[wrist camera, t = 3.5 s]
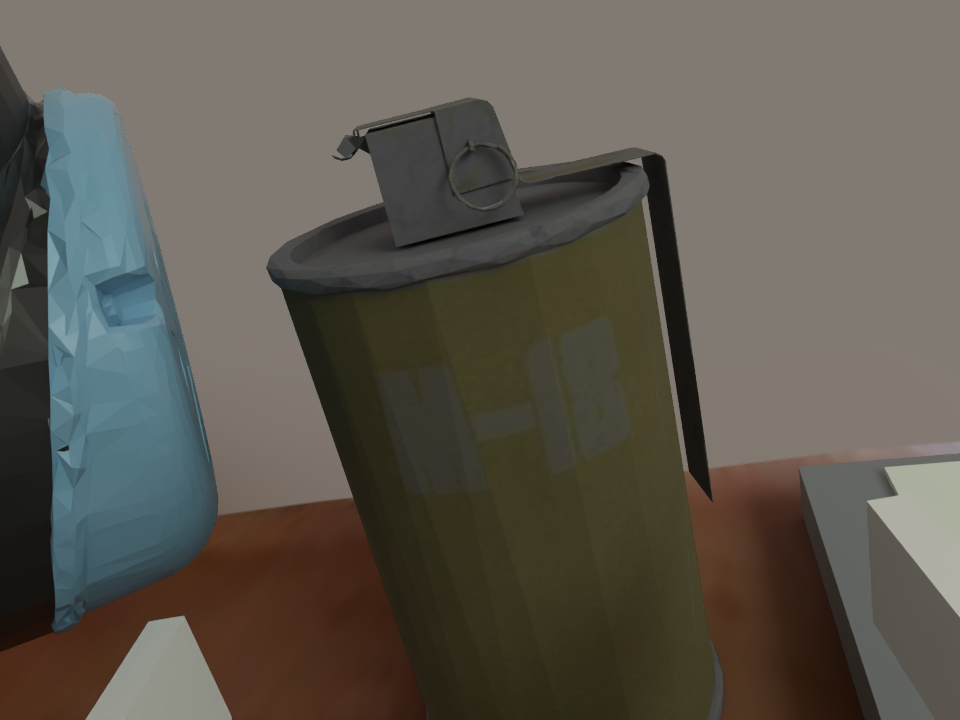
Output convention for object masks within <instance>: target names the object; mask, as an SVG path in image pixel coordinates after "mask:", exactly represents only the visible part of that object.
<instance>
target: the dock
mask: <svg viewBox="0 0 960 720" xmlns="http://www.w3.org/2000/svg"><path fill="white" fill-rule="evenodd" d="M799 476H800V487H801V498H802V509H803V518H804V521H805V525H806V528H807V531H808V535H809V538H810V541H811V544H812V548H813V551H814V554H815V558H816V561H817V564H818V568H819V571H820V574H821V578H822V581H823V584H824V587H825V591H826V594H827V597H828V601H829V604H830V607H831V611H832V614H833V617H834V620H835V624H836V627H837V630H838V634H839V637H840V640H841V644H842V647H843V650H844V654H845V657H846V660H847V663H848V667H849V670H850V673H851V677H852V680H853V683H854V687H855V690H856V693H857V696H858V700H859V703H860V706H861V710H862V713H863V716H864V720H935V718H934V717H933V715H932V714H931V712H930V710H929V709H928V707H927V706H926V704H925V703H924V701H923V699H922V698H921V696H920V695H919V693H918V692H917V690H916V688H915V687H914V685H913V684H912V682H911V681H910V679H909V677H908V676H907V674H906V673H905V671H904V670H903V668H902V666H901V665H900V663H899V662H898V660H897V659H896V657H895V655H894V654H893V652H892V651H891V649H890V648H889V646H888V645H887V643H886V641H885V640H884V638H883V637H882V635H881V634H880V632H879V630H878V629H877V627H876V626H875V624H874V623H873V611H872V592H871V573H870V554H869V535H868V516H867V501H868V500H874V499H880V498H886V497H892V496H898V495H904V494H910V493H912V494H913V495H914V496H915V497H916V499H917V500H918V501H919V502H920V503H921V504H922V505H923V506H924V507H925V508H926V509H927V511H928V512H929V513H930V514H931V515H932V516H933V517H934V518H935V519H936V520H937V522H938V523H939V524H940V525H941V526H942V527H943V528H944V529H945V530H946V531H947V532H948V534H949V535H950V536H951V537H952V538H953V539H954V540H955V541H956V542H957V543H958V544H959V546H960V454H948V455H936V456H925V457H913V458H901V459H889V460H877V461H865V462H854V463H842V464H830V465H818V466H806V467H799Z"/></svg>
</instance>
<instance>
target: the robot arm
mask: <svg viewBox="0 0 960 720" xmlns="http://www.w3.org/2000/svg"><path fill="white" fill-rule="evenodd" d="M43 97H44V100H42V101H41V102H39V103H35V102H34V101H33V100H32V99H31V98H30V97H29V96H28V95H27V94H26V92H25V91H24V90H23V89H22V87H21V85H20V83H19V81H18V80H17V78H16V76H15V74H14V72H13V70H12V68H11V66H10V65H9V62H8V60H7V59H6V57H5V55H4V53H3V51H2V49H1V47H0V652H1V651H4V650H7V649H9V648H12V647H15V646H17V645H20V644H23V643H25V642H28V641H31V640H33V639H36V638H39V637H41V636H44V635H47V634H49V633H52V632H54V633H56V634H59V633H62V632H65V631H68V630H70V629H72V628H73V627H75V626H76V625H77V624H79V622H80V620H81V618H82V617H83V615H85V614H87V613H89V612H92V611H94V610H96V609H98V608H101V607H103V606H105V605H107V604H109V603H112V602H114V601H116V600H118V599H120V598H123V597H125V596H127V595H129V594H131V593H134V592H136V591H138V590H140V589H143V588H145V587H147V586H149V585H151V584H154V583H156V582H158V581H160V580H162V579H165V578H167V577H169V576H171V575H173V574H175V573H177V572H178V571H180V570H181V569H183V568H184V567H186V566H187V565H188V564H190V563H191V562H192V561H193V560H194V559H195V558H196V557H197V556H198V555H199V553H200V552H201V551H202V550H203V548H204V547H205V545H206V544H207V542H208V540H209V539H210V536H211V534H212V531H213V529H214V527H215V524H216V519H217V513H218V493H217V487H216V481H215V475H214V469H213V464H212V459H211V454H210V450H209V444H208V440H207V435H206V431H205V427H204V422H203V418H202V414H201V409H200V405H199V401H198V396H197V392H196V388H195V384H194V380H193V375H192V371H191V367H190V363H189V359H188V355H187V351H186V347H185V343H184V339H183V335H182V331H181V327H180V323H179V319H178V315H177V311H176V307H175V303H174V300H173V296H172V293H171V288H170V285H169V281H168V277H167V273H166V269H165V265H164V261H163V257H162V253H161V249H160V246H159V242H158V238H157V235H156V231H155V227H154V224H153V220H152V216H151V213H150V209H149V205H148V202H147V198H146V195H145V191H144V188H143V184H142V181H141V177H140V174H139V170H138V167H137V164H136V161H135V158H134V155H133V152H132V149H131V146H130V145H129V142H128V139H127V137H126V133H125V129H124V126H123V122H122V117H121V115H120V113H119V111H118V109H117V108H116V107H115V105H114V104H113V103H112V102H111V101H110V100H108V99H107V98H106V97H104V96H101V95H99V94H97V93H83V94H73V93H72V92H70V91H69V90H67V89H64V88H62V87H60V88H57V89H54V90H51V91H47V92H45V93H44V94H43ZM867 516H868V535H869V554H870V573H871V592H872V611H873V623H874V624H875V626H876V627H877V629H878V630H879V632H880V634H881V635H882V637H883V638H884V640H885V641H886V643H887V645H888V646H889V648H890V649H891V651H892V652H893V654H894V655H895V657H896V659H897V660H898V662H899V663H900V665H901V666H902V668H903V670H904V671H905V673H906V674H907V676H908V677H909V679H910V681H911V682H912V684H913V685H914V687H915V688H916V690H917V692H918V693H919V695H920V696H921V698H922V699H923V701H924V703H925V704H926V706H927V707H928V709H929V710H930V712H931V714H932V715H933V717H934V718H935V720H960V546H959V544H958V543H957V542H956V541H955V540H954V539H953V538H952V537H951V536H950V535H949V534H948V532H947V531H946V530H945V529H944V528H943V527H942V526H941V525H940V524H939V523H938V522H937V520H936V519H935V518H934V517H933V516H932V515H931V514H930V513H929V512H928V511H927V509H926V508H925V507H924V506H923V505H922V504H921V503H920V502H919V501H918V500H917V499H916V497H915V496H914V495H913V494H912V493H910V494H904V495H898V496H892V497H886V498H880V499H874V500H868V501H867ZM231 719H232V717H231V715H230V712H229V710H228V708H227V706H226V704H225V702H224V700H223V698H222V695H221V693H220V691H219V689H218V687H217V685H216V683H215V681H214V678H213V676H212V674H211V672H210V670H209V668H208V666H207V664H206V661H205V659H204V657H203V655H202V653H201V651H200V649H199V647H198V644H197V642H196V640H195V638H194V636H193V634H192V632H191V630H190V627H189V625H188V623H187V621H186V619H185V617H184V616H179V617H173V618H167V619H161V620H155V621H149V622H148V623H147V625H146V626H145V628H144V630H143V631H142V633H141V634H140V636H139V637H138V639H137V640H136V642H135V644H134V645H133V647H132V648H131V650H130V651H129V653H128V654H127V656H126V658H125V659H124V661H123V662H122V664H121V665H120V667H119V668H118V670H117V672H116V673H115V675H114V676H113V678H112V679H111V681H110V682H109V684H108V686H107V687H106V689H105V690H104V692H103V693H102V695H101V696H100V698H99V700H98V701H97V703H96V704H95V706H94V707H93V709H92V710H91V712H90V713H89V715H88V717H87V718H86V720H231Z"/></svg>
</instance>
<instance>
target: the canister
mask: <svg viewBox="0 0 960 720" xmlns="http://www.w3.org/2000/svg"><path fill="white" fill-rule="evenodd" d="M428 112H431V114H427V115H423V116H419V117H415V118H411V119H407V120H403V121H399V122H395V123H391V124H387V125H383V126H379V127H375V128H371V129H369V130H368V132H367V133H366V135H365V136H362V137H359V132H358V130H361V129H365V128H369V127H373V126H377V125H381V124H384V123H388V122H392V121H396V120H400V119H404V118H408V117H412V116H416V115H420V114H424V113H428ZM354 131H357V135H358V136H355V132H354ZM359 148H360V149H361V150H364V151H365V152H367V153H369V154H370V155H371V158H372V162H373V166H374V169H375V173H376V176H377V180H378V183H379V187H380V191H381V194H382V198H383V201H384V202H383V203H380V204H376V205H374V206H371V207H368V208H365V209H362V210H360V211H357V212H354V213H351V214H348V215H345V216H343V217H340V218H337V219H335V220H332V221H330V222H328V223H326V224H324V225H322V226H320V227H318V228H315V229H314V230H311V231H309V232H307V233H305V234H303V235H301V236H298V237H297V238H294V239H292V240H290V241H288V242H287V243H285V244H284V245H283V246H282V247H281V248H280V249H278V250H277V251H276V252H275V253H274V254H273V255H272V256H271V257H270V259H269V261H268V265H267V267H266V268H267V270H268V273H269V275H270V277H271V279H272V281H273V282H274V283H275V284H277V285H278V286H279V287H280V288H281V289H282V292H283V295H284V298H285V301H286V303H287V306H288V309H289V312H290V315H291V318H292V321H293V324H294V327H295V330H296V333H297V336H298V338H299V341H300V344H301V347H302V350H303V353H304V356H305V358H306V362H307V365H308V367H309V370H310V373H311V376H312V379H313V382H314V385H315V388H316V391H317V393H318V396H319V399H320V402H321V405H322V408H323V411H324V414H325V416H326V419H327V422H328V425H329V428H330V431H331V434H332V437H333V440H334V443H335V446H336V448H337V451H338V454H339V457H340V460H341V463H342V466H343V469H344V472H345V475H346V477H347V480H348V483H349V486H350V489H351V492H352V495H353V498H354V501H355V504H356V506H357V509H358V512H359V515H360V518H361V521H362V524H363V527H364V530H365V533H366V535H367V538H368V541H369V544H370V547H371V550H372V553H373V556H374V559H375V561H376V564H377V567H378V570H379V573H380V576H381V579H382V582H383V585H384V588H385V590H386V593H387V596H388V599H389V602H390V605H391V608H392V611H393V614H394V616H395V619H396V622H397V625H398V628H399V631H400V634H401V637H402V640H403V643H404V645H405V648H406V651H407V654H408V657H409V660H410V663H411V666H412V669H413V672H414V674H415V677H416V680H417V683H418V686H419V689H420V692H421V695H422V698H423V700H424V703H425V706H426V709H427V720H719V719H720V716H721V713H722V706H723V692H724V683H723V675H722V670H721V666H720V663H719V660H718V657H717V654H716V651H715V649H714V646H713V644H712V641H711V639H710V638H709V633H708V626H707V620H706V613H705V607H704V600H703V594H702V588H701V581H700V575H699V568H698V562H697V555H696V549H695V542H694V536H693V529H692V523H691V517H690V510H689V504H688V497H687V491H686V484H685V478H684V471H683V466H682V458H681V452H680V446H679V439H678V433H677V426H676V420H675V413H674V407H673V400H672V394H671V387H670V381H669V375H668V368H667V362H666V355H665V349H664V342H663V336H662V329H661V323H660V316H659V310H658V304H657V297H656V291H655V285H654V279H653V271H652V265H651V258H650V252H649V246H648V239H647V233H646V226H645V220H644V214H643V207H642V199H643V198H644V197H645V196H646V195H647V196H648V203H649V210H650V217H651V224H652V230H653V236H654V243H655V250H656V257H657V263H658V270H659V276H660V283H661V290H662V296H663V303H664V309H665V316H666V323H667V329H668V336H669V343H670V349H671V356H672V362H673V369H674V376H675V382H676V388H677V395H678V402H679V408H680V415H681V421H682V429H683V435H684V442H685V448H686V455H687V462H688V468H689V472H690V473H691V475H692V476H693V477H694V479H695V480H696V481H697V483H698V484H699V485H700V486H701V488H702V489H703V490H704V492H705V493H706V494H707V496H708V497H709V498H710V500H711V501H712V502H713V496H712V489H711V482H710V475H709V468H708V461H707V454H706V447H705V440H704V433H703V426H702V418H701V411H700V404H699V396H698V389H697V382H696V375H695V368H694V361H693V354H692V347H691V339H690V333H689V326H688V318H687V311H686V304H685V297H684V289H683V282H682V275H681V268H680V261H679V254H678V246H677V240H676V232H675V226H674V218H673V211H672V204H671V196H670V190H669V182H668V175H667V168H666V161H665V159H664V158H663V156H661V155H659V154H657V153H655V152H651V151H647V150H643V149H639V148H628V149H624V150H619V151H615V152H611V153H607V154H603V155H598V156H594V157H590V158H586V159H582V160H578V161H573V162H566V163H559V164H551V165H543V166H536V167H528V168H521V169H517V164H516V162H515V160H514V159H513V157H512V155H511V152H510V150H509V147H508V144H507V142H506V139H505V137H504V134H503V131H502V129H501V126H500V124H499V121H498V119H497V116H496V113H495V111H494V108H493V107H492V105H491V104H490V103H489V102H488V101H484V100H480V99H475V98H465V99H462V100H458V101H454V102H450V103H446V104H442V105H438V106H434V107H431V108H428V109H424V110H420V111H416V112H412V113H408V114H404V115H400V116H396V117H392V118H388V119H384V120H380V121H376V122H372V123H369V124H364V125H361V126H357V127H356V128H355V129H354V130H353V136H349V135H345V137H344V139H343V140H342V142H341V144H340V145H339V147H338V148H337V151H338V152H339V153H340V154H341V155H343V156H344V157H345V158H343V159H340V158H338V157H335V156H333V157H334V158H335V159H338V160H341V161H343V160H348V159H351V158H352V157H353V156H354V154H355V153H356V152H357V150H358V149H359ZM351 154H352V156H351V157H349V156H350V155H351ZM348 157H349V158H348ZM640 157H642V163H643V168H642V167H641V166H638V165H635V164H631V163H627V162H624V161H628V160H631V159H636V158H640Z"/></svg>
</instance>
